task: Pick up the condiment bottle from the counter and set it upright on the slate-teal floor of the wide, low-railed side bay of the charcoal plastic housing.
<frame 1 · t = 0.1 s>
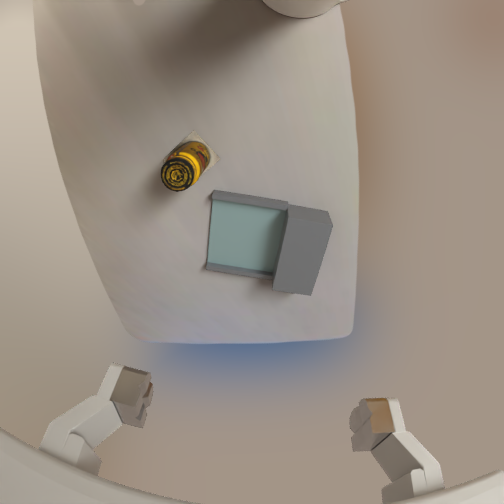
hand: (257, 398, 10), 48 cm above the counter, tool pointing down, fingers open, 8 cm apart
caddy: (274, 239, 61), on the counter
condiment: (191, 158, 54), on the counter
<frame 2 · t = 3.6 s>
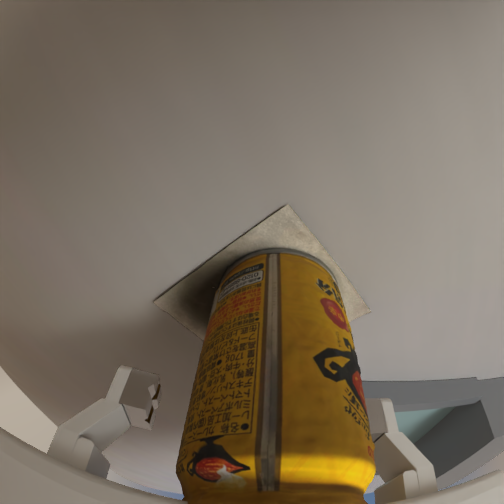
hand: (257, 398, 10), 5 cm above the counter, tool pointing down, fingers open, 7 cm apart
caddy: (418, 428, 23), on the counter
condiment: (262, 303, 15), on the counter, touching gripper
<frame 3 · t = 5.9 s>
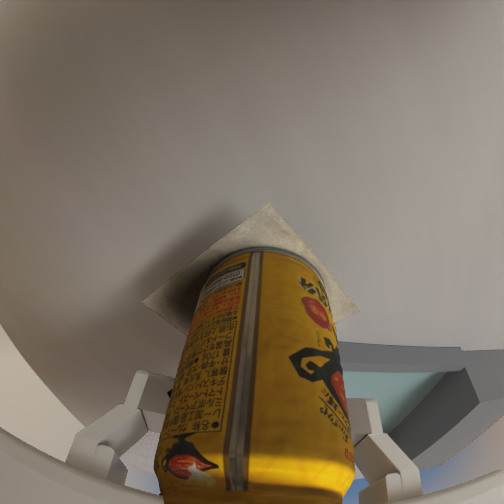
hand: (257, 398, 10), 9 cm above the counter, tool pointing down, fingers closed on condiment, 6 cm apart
caddy: (409, 400, 26), on the counter
condiment: (249, 302, 15), point 4 cm above the counter, touching gripper
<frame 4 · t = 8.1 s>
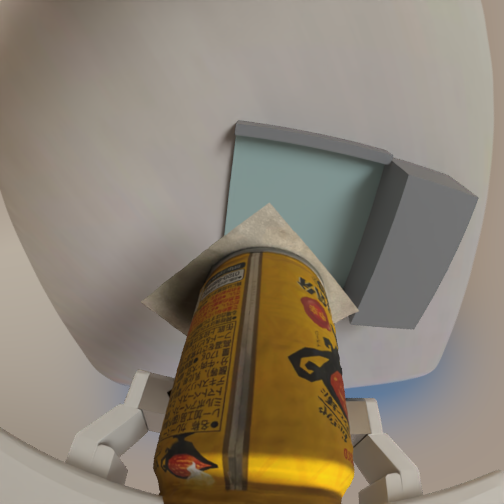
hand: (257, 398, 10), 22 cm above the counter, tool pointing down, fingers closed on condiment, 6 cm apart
caddy: (354, 226, 30), on the counter
condiment: (248, 302, 15), point 16 cm above the counter, touching gripper
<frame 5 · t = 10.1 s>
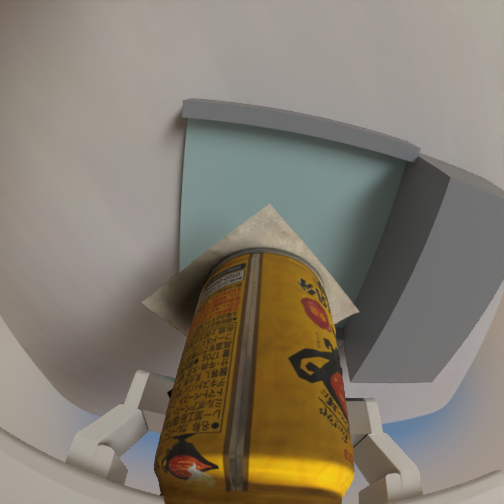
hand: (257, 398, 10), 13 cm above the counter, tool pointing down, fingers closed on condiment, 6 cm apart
caddy: (360, 249, 21), on the counter
condiment: (249, 303, 15), point 7 cm above the counter, touching gripper
when the fingers open (7 cm above the counter, at t = 12.1 s): condiment drops 1 cm, resting on caddy.
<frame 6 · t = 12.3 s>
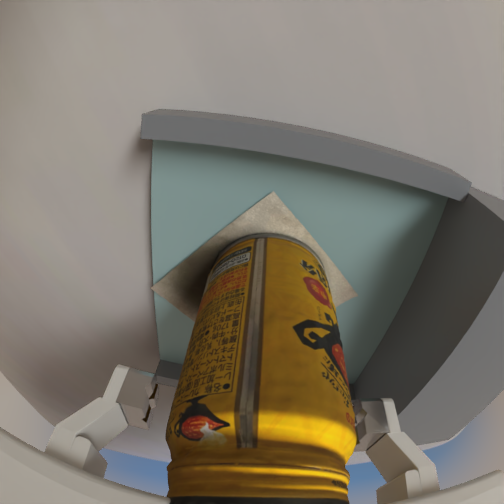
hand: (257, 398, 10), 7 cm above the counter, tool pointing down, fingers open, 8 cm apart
caddy: (381, 302, 17), on the counter
condiment: (253, 287, 16), resting on caddy
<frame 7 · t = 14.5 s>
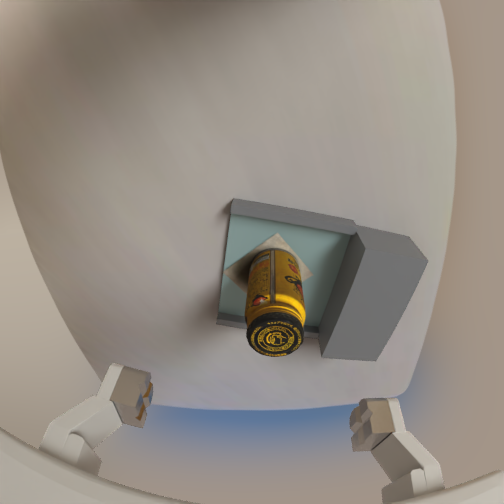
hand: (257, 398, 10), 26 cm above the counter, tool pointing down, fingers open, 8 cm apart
caddy: (326, 279, 38), on the counter
condiment: (268, 271, 38), resting on caddy
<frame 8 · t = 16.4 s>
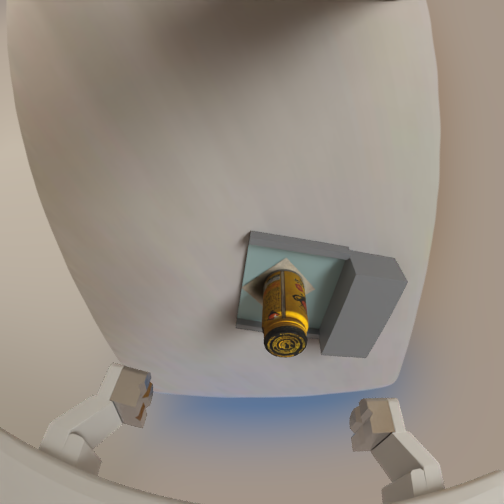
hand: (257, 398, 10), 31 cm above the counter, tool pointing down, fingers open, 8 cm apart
caddy: (325, 292, 47), on the counter
condiment: (278, 286, 46), resting on caddy
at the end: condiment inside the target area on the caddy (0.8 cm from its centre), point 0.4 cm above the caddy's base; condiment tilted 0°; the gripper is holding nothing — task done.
